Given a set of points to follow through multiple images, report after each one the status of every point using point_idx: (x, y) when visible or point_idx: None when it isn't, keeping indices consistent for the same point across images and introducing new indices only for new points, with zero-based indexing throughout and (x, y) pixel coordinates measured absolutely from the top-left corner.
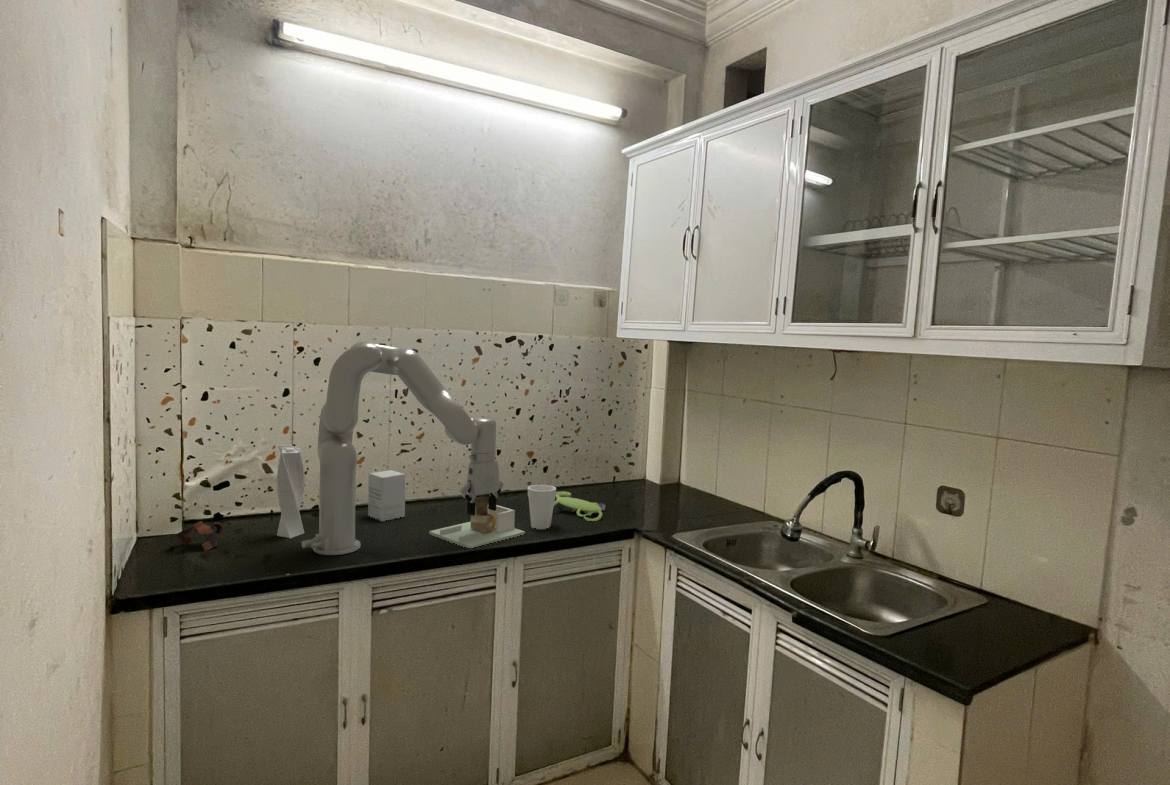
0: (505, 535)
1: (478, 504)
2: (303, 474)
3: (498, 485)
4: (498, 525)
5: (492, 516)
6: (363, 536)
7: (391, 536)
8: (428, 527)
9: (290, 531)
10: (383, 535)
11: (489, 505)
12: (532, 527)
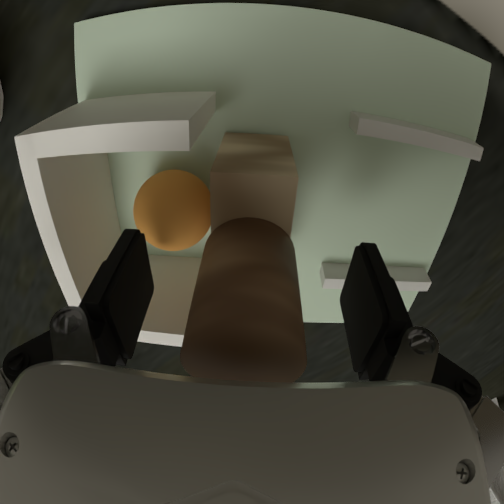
0: (214, 22)
1: (301, 317)
2: (497, 495)
3: (8, 425)
4: (201, 100)
5: (211, 169)
6: (467, 370)
7: (453, 348)
8: (333, 357)
9: None
10: (451, 360)
11: (145, 299)
12: (2, 105)
